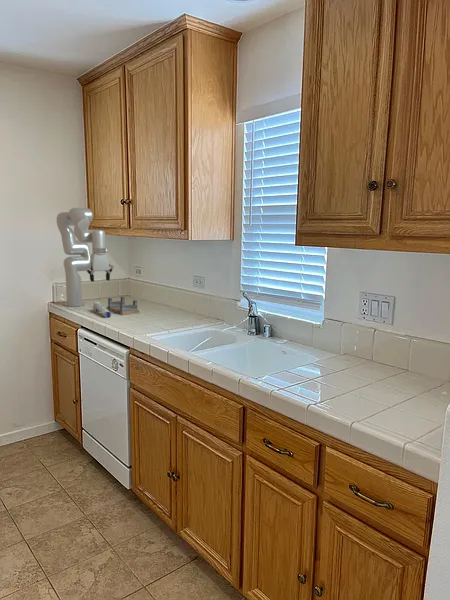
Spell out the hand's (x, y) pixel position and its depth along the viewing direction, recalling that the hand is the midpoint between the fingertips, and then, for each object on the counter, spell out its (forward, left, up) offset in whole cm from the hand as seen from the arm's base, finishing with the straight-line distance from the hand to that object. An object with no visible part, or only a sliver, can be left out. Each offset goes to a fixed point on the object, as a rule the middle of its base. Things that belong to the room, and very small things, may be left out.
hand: (100, 280), depth 267 cm
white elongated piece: (0, 0, -20) cm, 20 cm away
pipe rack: (0, +14, -20) cm, 24 cm away
